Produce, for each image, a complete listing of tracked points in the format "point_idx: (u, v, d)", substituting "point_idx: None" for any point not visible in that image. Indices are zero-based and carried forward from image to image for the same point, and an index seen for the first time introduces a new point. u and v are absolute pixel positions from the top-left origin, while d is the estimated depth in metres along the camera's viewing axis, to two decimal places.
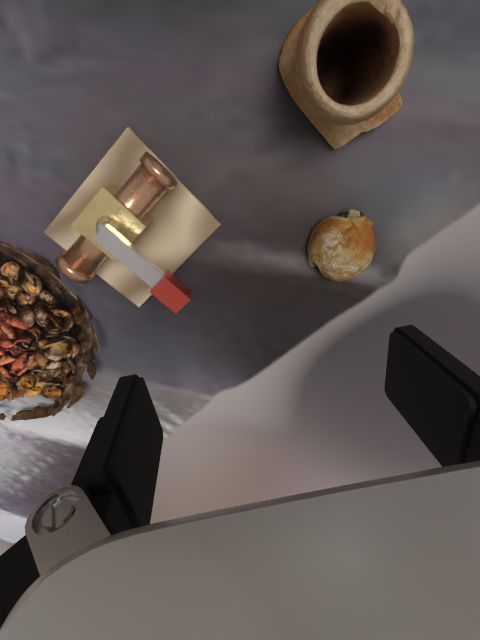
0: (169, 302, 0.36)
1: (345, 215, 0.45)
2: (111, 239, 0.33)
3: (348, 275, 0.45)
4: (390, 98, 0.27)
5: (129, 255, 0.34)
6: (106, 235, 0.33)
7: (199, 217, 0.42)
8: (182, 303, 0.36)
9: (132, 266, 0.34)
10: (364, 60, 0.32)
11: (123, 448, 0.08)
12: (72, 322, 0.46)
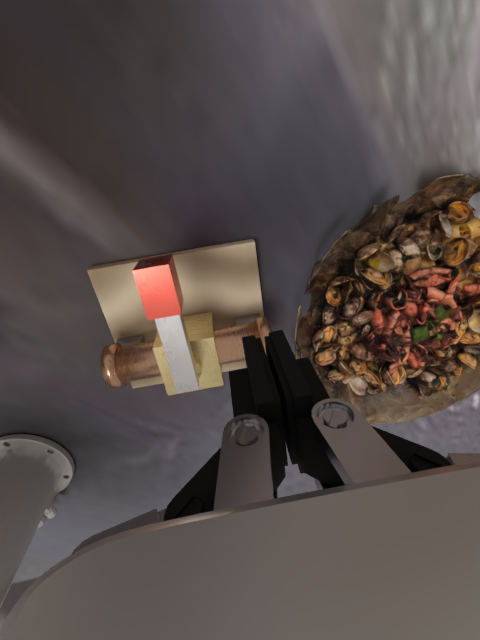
0: (165, 286, 0.22)
1: None
2: (181, 380, 0.27)
3: None
4: None
5: (175, 358, 0.26)
6: (183, 385, 0.27)
7: (108, 292, 0.33)
8: (148, 273, 0.22)
9: (181, 346, 0.26)
10: None
11: (275, 389, 0.09)
12: (333, 283, 0.34)
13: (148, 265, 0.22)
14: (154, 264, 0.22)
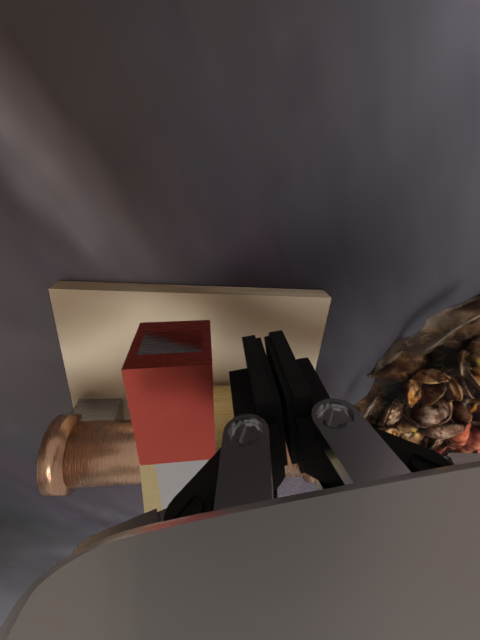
0: (194, 406, 0.10)
1: None
2: None
3: None
4: None
5: None
6: None
7: (79, 329, 0.20)
8: (159, 378, 0.09)
9: None
10: None
11: (276, 389, 0.09)
12: (425, 379, 0.23)
13: (161, 354, 0.09)
14: (175, 353, 0.10)
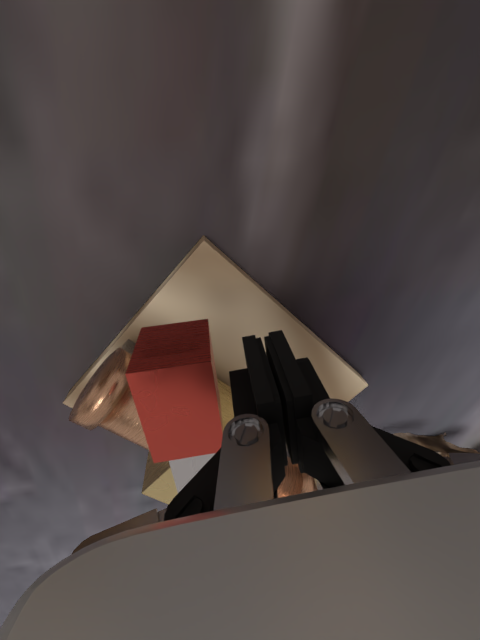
0: (198, 403, 0.10)
1: None
2: None
3: None
4: None
5: None
6: None
7: (192, 286, 0.20)
8: (162, 379, 0.09)
9: None
10: None
11: (276, 388, 0.09)
12: None
13: (162, 356, 0.10)
14: (176, 354, 0.10)
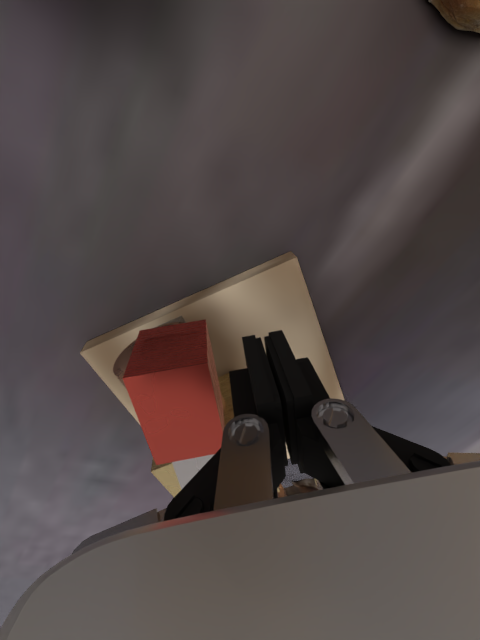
0: (197, 404, 0.10)
1: None
2: None
3: None
4: None
5: None
6: None
7: (264, 292, 0.20)
8: (159, 382, 0.09)
9: None
10: None
11: (276, 389, 0.09)
12: None
13: (159, 358, 0.10)
14: (173, 356, 0.10)
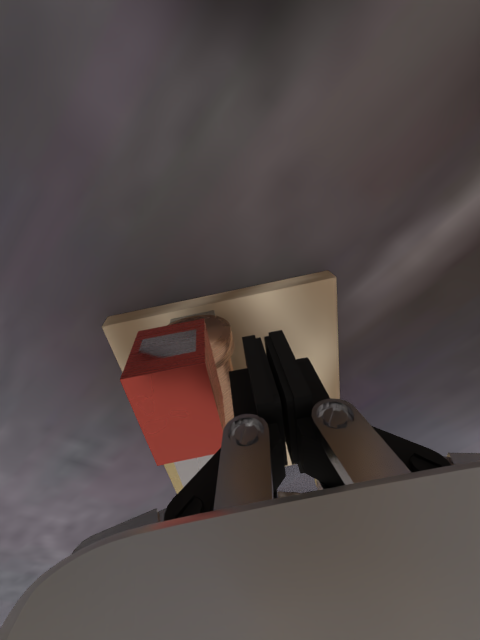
0: (196, 404, 0.10)
1: None
2: None
3: None
4: None
5: None
6: None
7: (298, 304, 0.21)
8: (157, 382, 0.09)
9: None
10: None
11: (275, 388, 0.09)
12: None
13: (157, 359, 0.10)
14: (171, 356, 0.10)
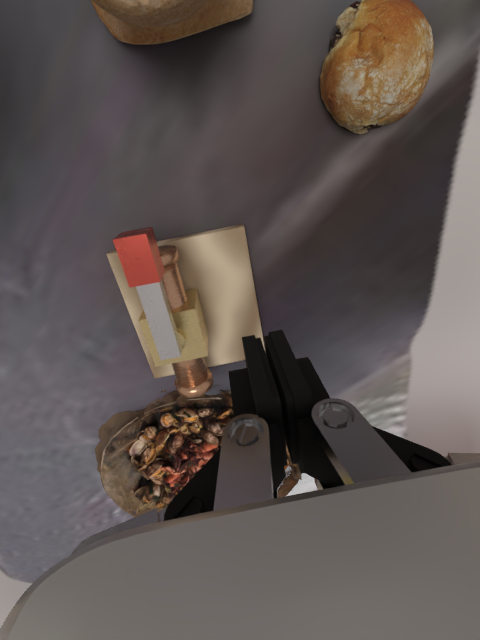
0: (144, 254, 0.24)
1: (338, 35, 0.28)
2: (163, 347, 0.29)
3: (420, 82, 0.27)
4: None
5: (157, 325, 0.28)
6: (165, 352, 0.29)
7: (223, 243, 0.35)
8: (127, 242, 0.24)
9: (162, 314, 0.27)
10: None
11: (276, 389, 0.09)
12: None
13: (128, 235, 0.24)
14: (133, 234, 0.24)
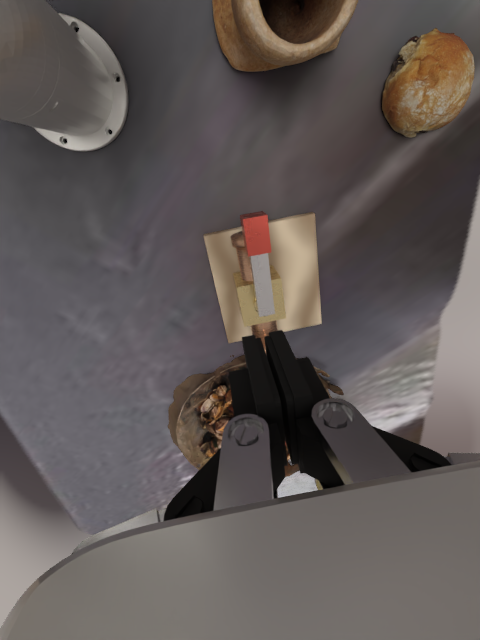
0: (263, 230, 0.32)
1: (399, 61, 0.36)
2: (263, 306, 0.37)
3: (464, 98, 0.35)
4: None
5: (261, 287, 0.36)
6: (264, 310, 0.38)
7: (296, 227, 0.44)
8: (253, 221, 0.32)
9: (266, 278, 0.36)
10: None
11: (275, 388, 0.09)
12: None
13: (251, 216, 0.32)
14: (255, 215, 0.32)
